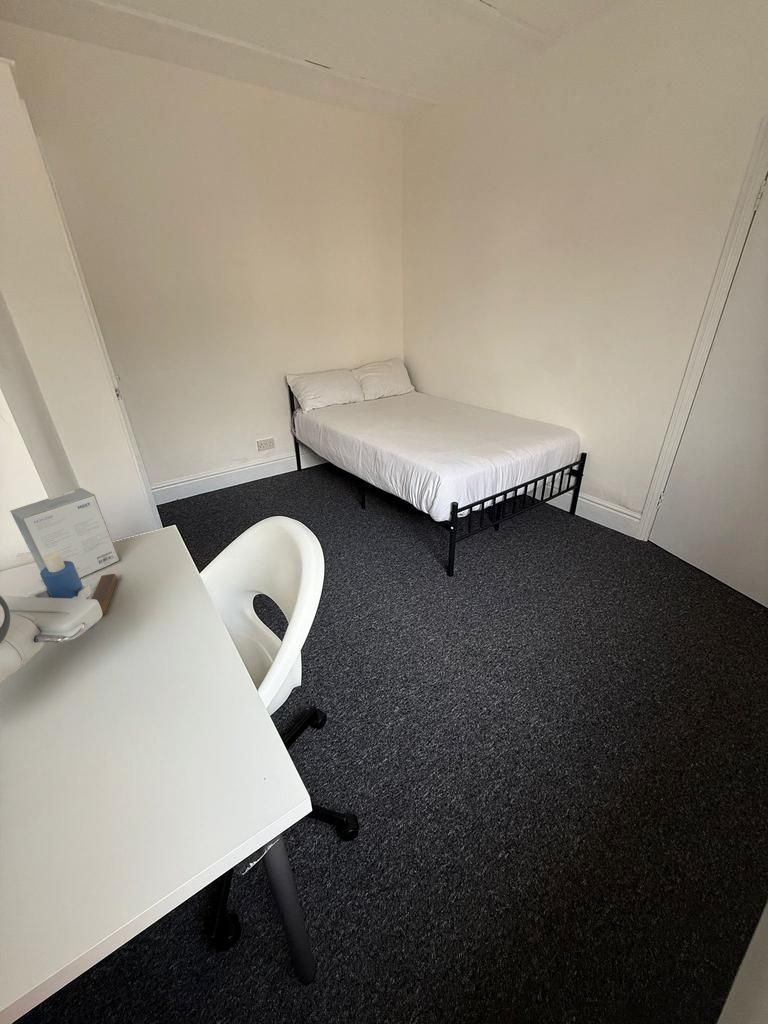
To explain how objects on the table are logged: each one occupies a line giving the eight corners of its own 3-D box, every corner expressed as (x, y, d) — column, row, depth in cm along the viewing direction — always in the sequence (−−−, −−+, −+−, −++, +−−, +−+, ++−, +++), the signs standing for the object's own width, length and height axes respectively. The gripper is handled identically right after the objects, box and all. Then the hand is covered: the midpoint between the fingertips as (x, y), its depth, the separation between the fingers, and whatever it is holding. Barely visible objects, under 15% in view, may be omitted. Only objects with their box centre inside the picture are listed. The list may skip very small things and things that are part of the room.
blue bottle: (63, 637, 82) (28, 565, 74) (71, 620, 86) (39, 550, 78) (93, 630, 83) (62, 559, 76) (100, 614, 88) (71, 545, 80)
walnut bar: (88, 618, 92) (85, 611, 91) (103, 582, 104) (101, 575, 103) (104, 615, 93) (101, 608, 92) (117, 579, 105) (114, 573, 104)
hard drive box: (107, 552, 116) (83, 487, 107) (120, 561, 112) (96, 493, 103) (42, 579, 105) (8, 509, 96) (54, 590, 101) (20, 518, 92)
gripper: (61, 627, 67) (116, 577, 80) (-55, 623, 69) (16, 574, 81) (75, 656, 70) (126, 603, 82) (-37, 651, 72) (29, 599, 84)
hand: (71, 588), depth 82 cm, fingers closed on blue bottle, 5 cm apart
